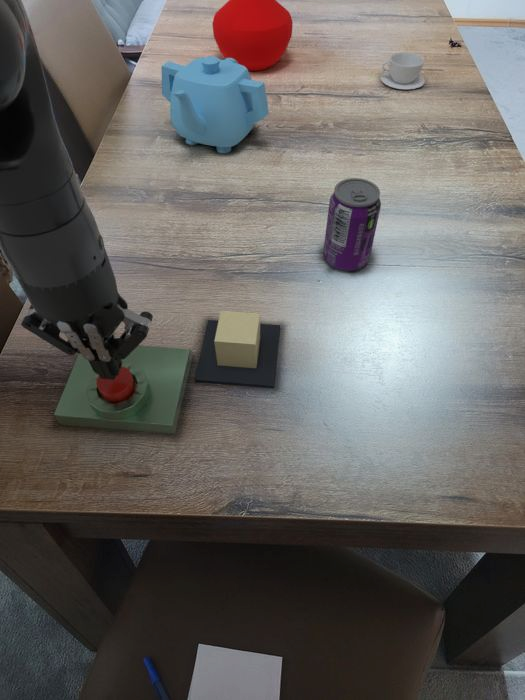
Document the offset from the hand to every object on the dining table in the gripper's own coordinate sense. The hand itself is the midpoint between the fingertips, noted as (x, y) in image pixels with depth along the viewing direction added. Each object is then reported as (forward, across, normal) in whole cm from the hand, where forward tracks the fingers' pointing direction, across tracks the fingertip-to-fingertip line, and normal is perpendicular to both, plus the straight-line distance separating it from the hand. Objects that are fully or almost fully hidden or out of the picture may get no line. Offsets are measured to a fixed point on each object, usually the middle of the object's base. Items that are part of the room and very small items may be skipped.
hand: (110, 372), depth 54 cm
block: (+6, +13, +9) cm, 17 cm away
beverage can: (+7, +27, +29) cm, 40 cm away
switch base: (+7, 0, +2) cm, 7 cm away
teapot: (+7, 0, +61) cm, 62 cm away
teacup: (+7, +39, +90) cm, 99 cm away
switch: (+3, 0, 0) cm, 3 cm away
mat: (+7, +13, +9) cm, 17 cm away
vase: (+7, +4, +97) cm, 98 cm away
